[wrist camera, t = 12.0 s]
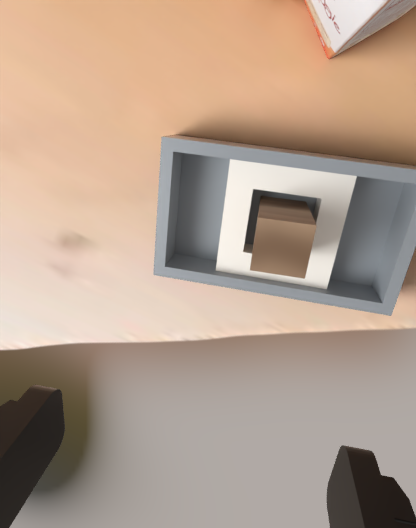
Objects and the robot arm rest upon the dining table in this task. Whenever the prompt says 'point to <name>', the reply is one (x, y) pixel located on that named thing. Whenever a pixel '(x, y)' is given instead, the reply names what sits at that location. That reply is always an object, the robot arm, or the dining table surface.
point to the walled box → (294, 188)
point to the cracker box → (352, 20)
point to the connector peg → (283, 237)
